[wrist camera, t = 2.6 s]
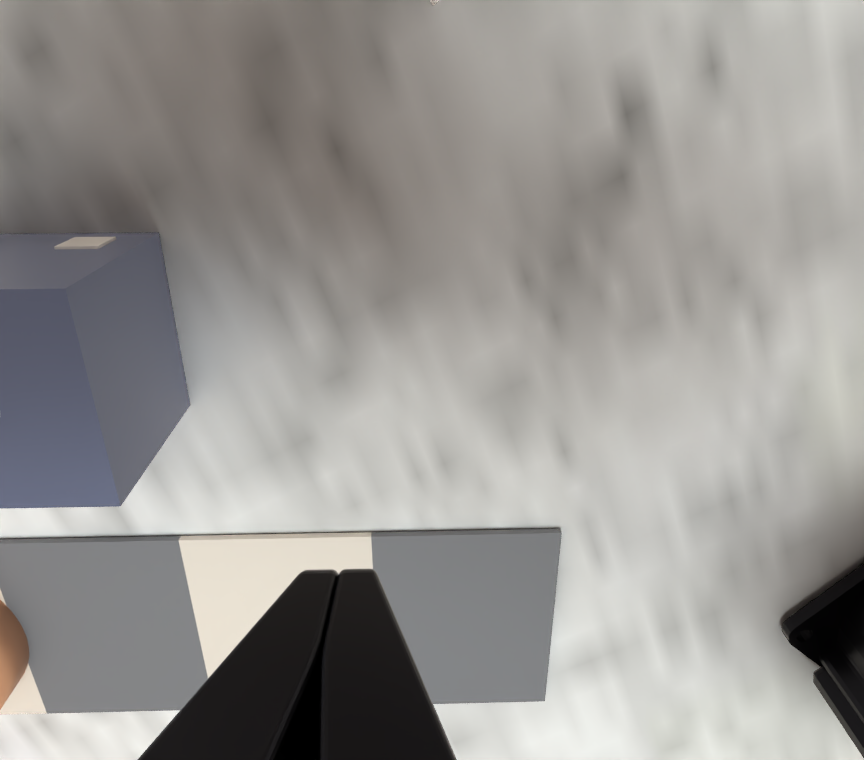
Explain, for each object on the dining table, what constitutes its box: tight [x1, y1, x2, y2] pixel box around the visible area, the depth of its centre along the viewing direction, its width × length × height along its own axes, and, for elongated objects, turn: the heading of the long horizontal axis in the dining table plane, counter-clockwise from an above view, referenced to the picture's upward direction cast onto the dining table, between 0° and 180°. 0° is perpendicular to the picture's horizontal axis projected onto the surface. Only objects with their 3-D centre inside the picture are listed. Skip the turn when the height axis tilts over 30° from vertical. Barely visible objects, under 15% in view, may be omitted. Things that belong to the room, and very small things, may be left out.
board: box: [0, 529, 562, 715], centre depth 20 cm, size 28×7×1 cm, turn 90°
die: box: [0, 233, 190, 508], centre depth 14 cm, size 4×5×5 cm
